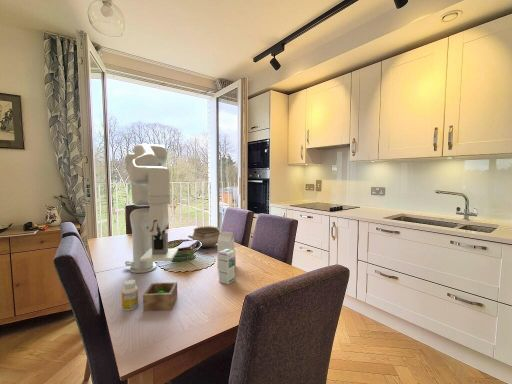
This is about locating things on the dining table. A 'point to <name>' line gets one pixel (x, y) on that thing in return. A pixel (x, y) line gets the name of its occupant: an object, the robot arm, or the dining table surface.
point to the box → (160, 296)
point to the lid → (160, 251)
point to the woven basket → (206, 236)
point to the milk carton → (225, 242)
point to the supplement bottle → (129, 295)
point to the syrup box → (227, 266)
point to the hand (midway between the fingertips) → (160, 247)
